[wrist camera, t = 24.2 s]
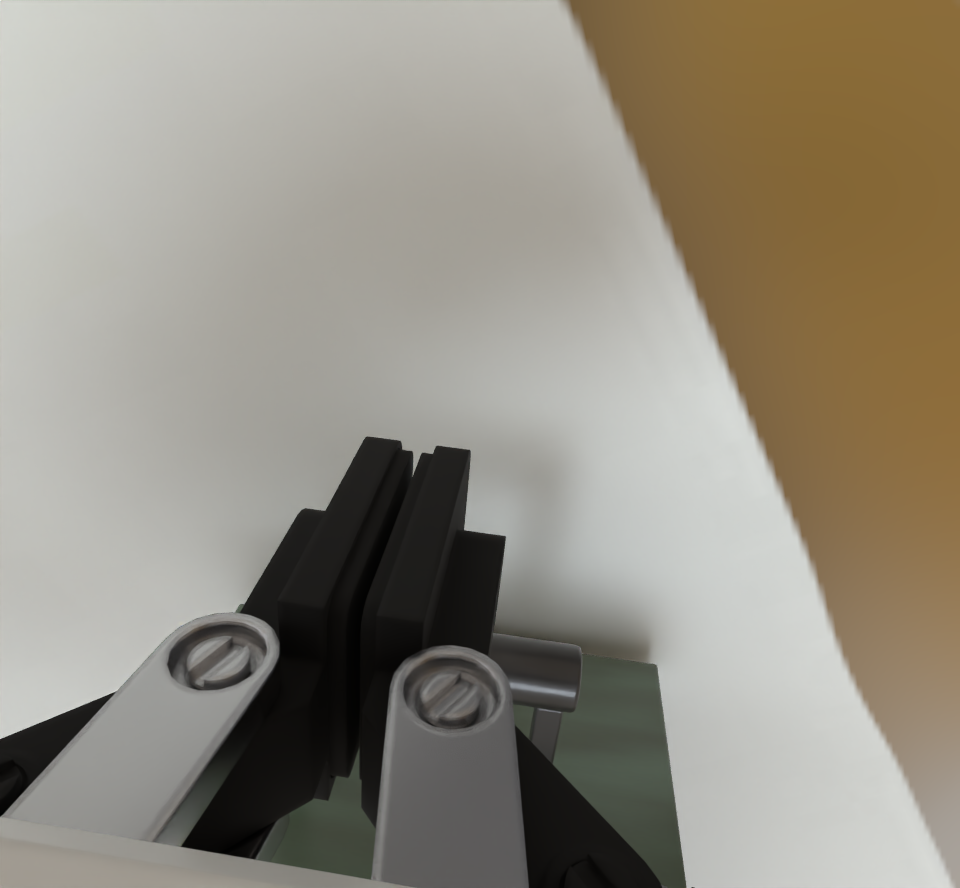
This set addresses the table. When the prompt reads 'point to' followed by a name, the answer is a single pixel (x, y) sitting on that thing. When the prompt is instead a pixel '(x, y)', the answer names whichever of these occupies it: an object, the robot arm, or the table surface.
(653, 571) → the table surface
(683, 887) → the drawer
